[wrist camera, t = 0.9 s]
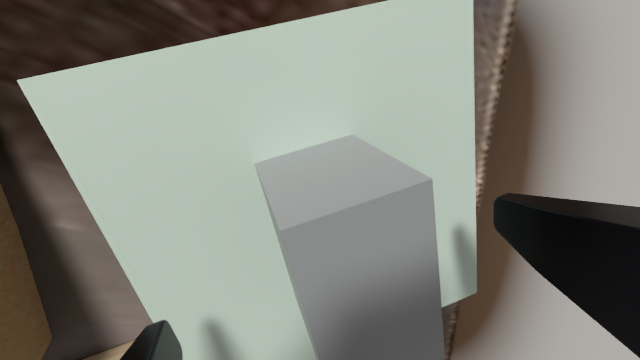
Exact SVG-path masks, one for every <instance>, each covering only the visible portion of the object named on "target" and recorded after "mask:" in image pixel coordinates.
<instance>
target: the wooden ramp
mask: <svg viewBox="0 0 640 360" xmlns="http://www.w3.org/2000/svg"><path fill="white" fill-rule="evenodd" d="M51 340H52V334H51V331H50V328H49V325H48V321H47V318H46V315H45V312H44V309H43V306H42V302H41V299H40V296H39V293H38V290H37V287H36V284H35V280H34V277H33V274H32V271H31V268H30V265H29V261H28V258H27V255H26V252H25V249H24V246H23V242H22V239H21V236H20V233H19V230H18V227H17V224H16V222H15V219H14V217H13V214H12V212H11V209H10V206H9V204H8V201H7V199H6V196H5V194H4V191H3V189H2V186H1V184H0V360H41V359H42V357H43V355H44V354H45V352H46V350H47V348H48V346H49V345H50V343H51Z"/></svg>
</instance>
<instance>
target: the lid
mask: <svg viewBox="0 0 640 360" xmlns="http://www.w3.org/2000/svg"><path fill="white" fill-rule="evenodd" d="M17 82H18V84H19V85H20V87H21V89H22V91H23V93H24V94H25V96H26V98H27V100H28V101H29V103H30V105H31V107H32V109H33V110H34V112H35V114H36V116H37V117H38V119H39V121H40V123H41V125H42V126H43V128H44V130H45V132H46V133H47V135H48V137H49V139H50V140H51V142H52V144H53V146H54V148H55V149H56V151H57V153H58V155H59V156H60V158H61V160H62V162H63V164H64V165H65V167H66V169H67V171H68V172H69V174H70V176H71V178H72V180H73V181H74V183H75V185H76V187H77V188H78V190H79V192H80V194H81V196H82V197H83V199H84V201H85V203H86V204H87V206H88V208H89V210H90V212H91V213H92V215H93V217H94V219H95V220H96V222H97V224H98V226H99V227H100V229H101V231H102V233H103V235H104V236H105V238H106V240H107V242H108V243H109V245H110V247H111V249H112V251H113V252H114V254H115V256H116V258H117V259H118V261H119V263H120V265H121V267H122V268H123V270H124V272H125V274H126V275H127V277H128V279H129V281H130V283H131V284H132V286H133V288H134V290H135V291H136V293H137V295H138V297H139V299H140V300H141V302H142V304H143V306H144V307H145V309H146V311H147V313H148V314H149V316H150V318H151V320H152V322H153V323H155V322H158V321H161V320H167V321H168V322H169V324H170V326H171V328H172V329H173V331H174V333H175V335H176V337H177V339H178V341H179V343H180V345H181V348H182V355H183V360H442V359H444V358H445V347H444V333H443V319H442V307H445V306H447V305H449V304H452V303H454V302H456V301H459V300H461V299H463V298H466V297H468V296H470V295H473V294H475V293H477V261H476V260H477V258H476V184H475V109H474V34H473V0H388V1H384V2H379V3H374V4H370V5H365V6H360V7H356V8H351V9H346V10H342V11H337V12H332V13H328V14H323V15H318V16H314V17H309V18H304V19H300V20H295V21H291V22H286V23H281V24H277V25H272V26H267V27H263V28H258V29H253V30H249V31H244V32H239V33H235V34H230V35H225V36H221V37H216V38H211V39H207V40H202V41H197V42H193V43H188V44H183V45H179V46H174V47H169V48H165V49H160V50H155V51H151V52H146V53H141V54H137V55H132V56H127V57H123V58H118V59H113V60H109V61H104V62H99V63H95V64H90V65H85V66H81V67H76V68H71V69H67V70H62V71H58V72H53V73H48V74H44V75H39V76H34V77H30V78H25V79H20V80H17Z"/></svg>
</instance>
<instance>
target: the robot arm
mask: <svg viewBox="0 0 640 360" xmlns="http://www.w3.org/2000/svg"><path fill="white" fill-rule="evenodd" d="M493 225H494V227H495V229H496V230H497V232H498V233H499V234H500V235H501V236H502V237H503V238H504V239H505V240H506V241H507V242H508V243H509V244H510V245H511V246H512V247H513V248H514V249H515V250H516V251H517V252H518V253H519V254H520V255H521V256H522V257H523V258H524V259H525V260H526V261H527V262H528V263H529V264H530V265H531V266H532V267H534V269H535V270H536V271H538V272H539V273H540V274H541V275H542V276H543V277H544V278H546V279H547V280H548V281H549V282H550V283H551V284H553V285H554V286H555V287H556V288H558V289H559V290H560V291H561V292H562V293H563V294H564V295H566V296H567V297H568V298H569V299H570V300H572V301H573V302H574V303H575V304H576V305H578V306H579V307H580V308H581V309H582V310H583V311H585V312H586V313H587V314H588V315H589V316H591V317H592V318H593V319H594V320H596V321H597V322H598V323H599V324H600V325H601V326H602V327H604V328H605V329H606V330H607V331H608V332H610V333H611V334H612V335H613V336H614V337H615V338H617V339H618V340H619V341H620V342H621V343H623V344H624V345H625V346H626V347H628V348H629V349H630V350H631V351H632V352H633V353H634V354H636V355H637V356H638V357H639V358H640V207H633V206H624V205H615V204H606V203H596V202H588V201H578V200H569V199H559V198H551V197H542V196H532V195H523V194H514V193H507V194H504V195H501V196H498V197H496V198H495V199H494V201H493ZM120 360H183V355H182V348H181V345H180V343H179V341H178V339H177V337H176V335H175V333H174V331H173V329H172V328H171V326H170V324H169V322H168V321H167V320H161V321H158V322H155V323H153V324H150V325H148V326H146V327H145V328H144V330H143V331H142V332H141V333H140V335H139V336H138V337H137V338H136V340H135V341H134V342H133V343H132V345H131V346H130V347H129V348H128V350H127V351H126V352H125V353H124V355H123V356H122V357H121V358H120Z"/></svg>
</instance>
